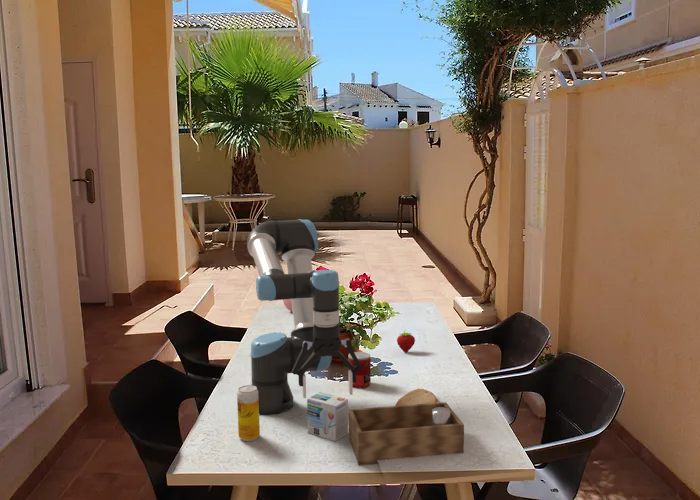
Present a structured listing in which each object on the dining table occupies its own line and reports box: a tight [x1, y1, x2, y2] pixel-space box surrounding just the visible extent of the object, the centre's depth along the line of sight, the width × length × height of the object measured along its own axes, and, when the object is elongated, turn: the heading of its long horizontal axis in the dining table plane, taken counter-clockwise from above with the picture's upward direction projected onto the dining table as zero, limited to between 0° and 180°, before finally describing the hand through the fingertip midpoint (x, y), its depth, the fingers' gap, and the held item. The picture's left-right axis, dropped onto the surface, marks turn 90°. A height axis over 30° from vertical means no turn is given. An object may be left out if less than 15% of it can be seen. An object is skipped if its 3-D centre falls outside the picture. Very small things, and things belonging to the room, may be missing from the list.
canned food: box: [347, 351, 372, 389], centre depth 227 cm, size 8×8×11 cm
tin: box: [432, 407, 450, 426], centre depth 180 cm, size 5×5×9 cm
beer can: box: [236, 384, 260, 442], centre depth 185 cm, size 6×6×15 cm
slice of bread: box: [394, 388, 438, 406], centre depth 209 cm, size 18×18×4 cm
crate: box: [348, 401, 465, 466], centre depth 179 cm, size 29×16×9 cm, turn 99°
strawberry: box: [396, 330, 416, 353], centre depth 262 cm, size 6×8×10 cm
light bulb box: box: [306, 391, 349, 442], centre depth 188 cm, size 11×7×11 cm, turn 56°
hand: (327, 394), depth 187 cm, fingers open, 13 cm apart
